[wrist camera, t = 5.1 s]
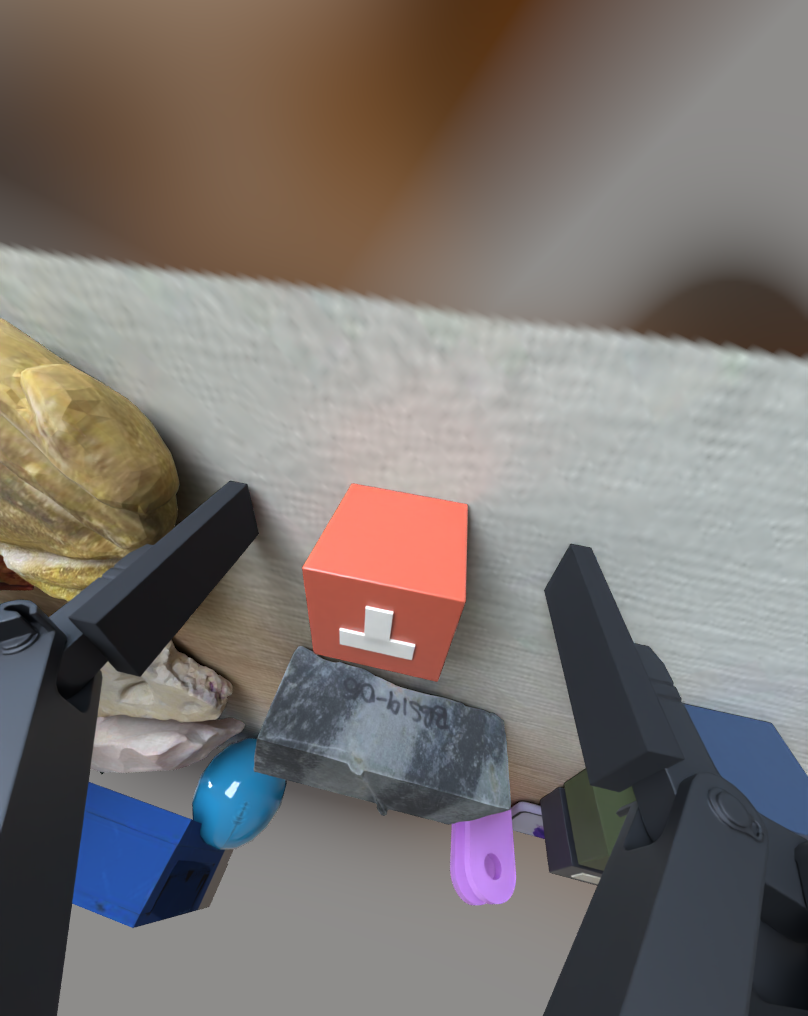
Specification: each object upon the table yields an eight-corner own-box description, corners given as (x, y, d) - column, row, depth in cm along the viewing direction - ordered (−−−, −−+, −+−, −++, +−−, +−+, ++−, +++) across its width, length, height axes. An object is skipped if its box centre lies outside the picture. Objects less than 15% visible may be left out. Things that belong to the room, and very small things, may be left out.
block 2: (651, 781, 23) (685, 877, 19) (620, 797, 26) (644, 884, 22) (587, 766, 23) (609, 857, 20) (563, 783, 26) (578, 866, 22)
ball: (296, 736, 36) (307, 770, 29) (257, 823, 33) (260, 884, 26) (227, 715, 34) (222, 746, 27) (179, 806, 31) (159, 867, 24)
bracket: (509, 789, 29) (518, 910, 23) (488, 802, 32) (491, 911, 27) (372, 750, 29) (349, 861, 24) (365, 767, 33) (343, 867, 27)
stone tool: (179, 710, 22) (10, 707, 24) (157, 799, 20) (-26, 787, 22) (256, 696, 30) (122, 695, 32) (245, 758, 28) (104, 752, 30)
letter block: (468, 503, 12) (466, 605, 8) (446, 582, 14) (437, 685, 11) (351, 482, 12) (299, 570, 8) (351, 563, 15) (311, 656, 11)
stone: (212, 649, 20) (219, 739, 24) (240, 608, 23) (241, 694, 27) (-14, 611, 19) (36, 712, 23) (48, 574, 22) (81, 668, 26)
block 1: (613, 800, 26) (637, 885, 23) (589, 812, 29) (606, 890, 25) (558, 786, 27) (572, 868, 23) (539, 799, 29) (549, 874, 26)
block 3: (772, 722, 16) (859, 851, 13) (712, 751, 19) (770, 864, 15) (681, 702, 17) (739, 821, 13) (635, 733, 19) (673, 840, 16)
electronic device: (191, 819, 25) (-127, 703, 27) (132, 927, 21) (-233, 780, 23) (241, 837, 37) (21, 757, 40) (211, 906, 33) (-31, 812, 36)
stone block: (448, 750, 26) (443, 839, 22) (283, 692, 25) (245, 775, 21) (506, 715, 21) (514, 825, 17) (299, 640, 20) (252, 737, 16)
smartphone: (520, 809, 29) (689, 855, 28) (519, 797, 30) (683, 841, 29) (496, 826, 33) (642, 866, 32) (495, 815, 34) (638, 854, 33)
